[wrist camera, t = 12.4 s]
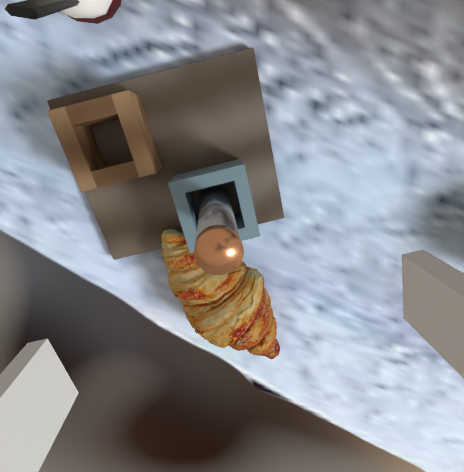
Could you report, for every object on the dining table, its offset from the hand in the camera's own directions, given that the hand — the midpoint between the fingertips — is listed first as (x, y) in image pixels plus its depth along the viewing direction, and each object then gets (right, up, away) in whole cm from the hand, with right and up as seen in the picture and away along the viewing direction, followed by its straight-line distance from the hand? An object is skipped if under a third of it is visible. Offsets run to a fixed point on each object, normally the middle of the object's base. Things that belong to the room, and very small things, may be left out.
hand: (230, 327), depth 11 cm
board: (-6, +11, +20) cm, 24 cm away
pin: (-2, +7, +21) cm, 22 cm away
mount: (-11, +13, +19) cm, 26 cm away
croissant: (-1, -3, +26) cm, 26 cm away
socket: (-2, +8, +22) cm, 23 cm away
